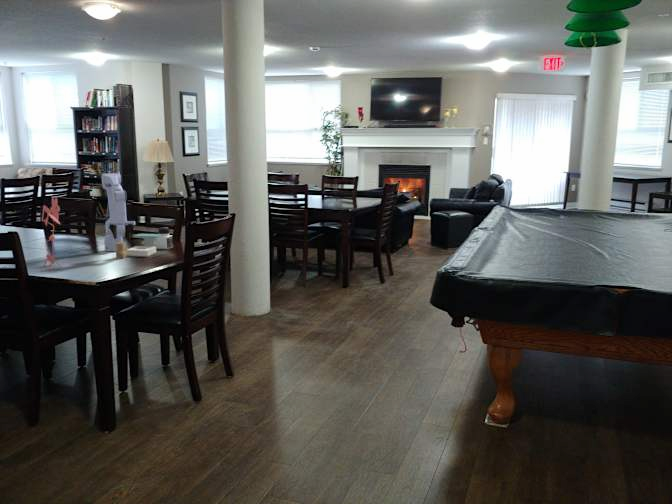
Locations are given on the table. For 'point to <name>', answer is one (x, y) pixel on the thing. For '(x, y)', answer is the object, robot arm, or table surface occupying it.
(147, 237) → the awning
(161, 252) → the table surface
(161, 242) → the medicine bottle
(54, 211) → the figurine
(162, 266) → the table surface
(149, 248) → the socket block
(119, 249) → the oak peg
